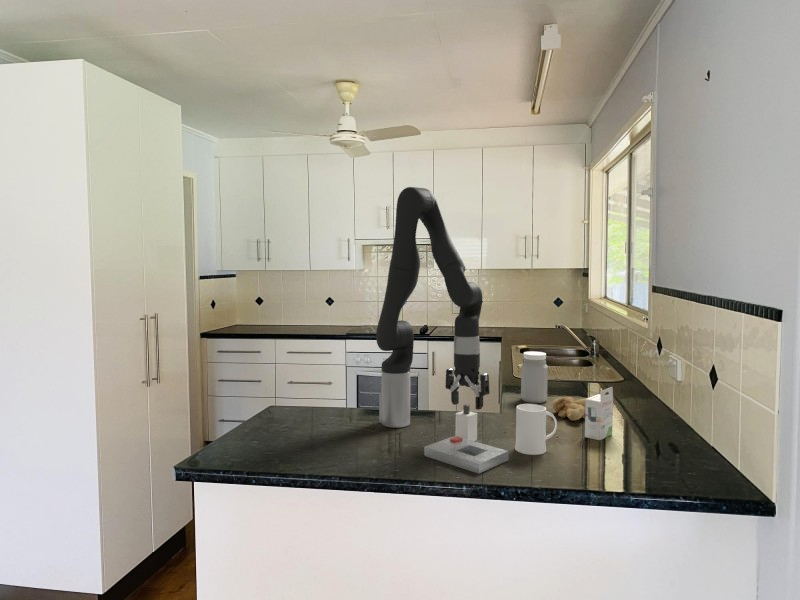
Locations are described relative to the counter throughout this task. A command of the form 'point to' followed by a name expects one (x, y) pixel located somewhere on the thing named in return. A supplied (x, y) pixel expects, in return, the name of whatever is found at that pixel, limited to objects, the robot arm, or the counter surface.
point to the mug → (532, 429)
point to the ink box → (599, 415)
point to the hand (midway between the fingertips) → (467, 406)
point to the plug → (466, 424)
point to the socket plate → (466, 454)
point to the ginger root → (570, 407)
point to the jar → (534, 377)
